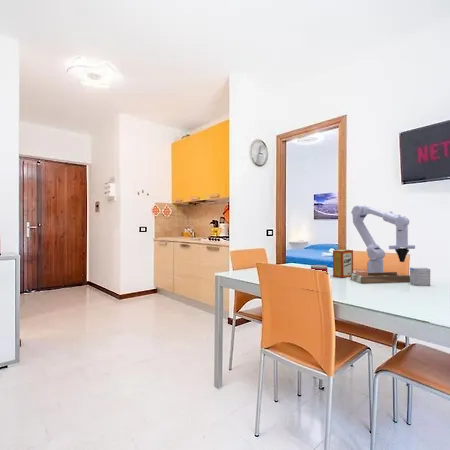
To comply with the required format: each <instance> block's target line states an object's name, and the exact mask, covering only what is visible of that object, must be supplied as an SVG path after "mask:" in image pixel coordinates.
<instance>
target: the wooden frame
mask: <svg viewBox="0 0 450 450" xmlns="http://www.w3.org/2000/svg"><path fill="white" fill-rule="evenodd" d="M350 280H351V281H353V280H354V282H356V283H359V284H364V285H365V284H369V285H370V284H393V283H394V284H395V283H397V284H399V283H410V274H409V275H408V274H406V275H399V274H398V271H387V272H386V271H385V272H384V271H383V272H378V273H368V277H362V276H359V275H356V272H353V273H351V277H350Z"/></svg>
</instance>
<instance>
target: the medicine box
mask: <svg viewBox="0 0 450 450" xmlns="http://www.w3.org/2000/svg"><path fill="white" fill-rule="evenodd" d="M409 275H410V282H409V284H410V285H411V286H413V285H414V286H413V287H417V286H418V287H419V286H420V287H421V286H422V287H424V286H426V287H427V286H429V287H431V269H430V268H429V267H410V268H409Z"/></svg>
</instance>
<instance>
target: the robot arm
mask: <svg viewBox="0 0 450 450" xmlns="http://www.w3.org/2000/svg"><path fill="white" fill-rule="evenodd" d="M350 213H351V215H352V223H353V225H354V226H355V228H356V231H357V233H358V234H359V235H360V236H359V237H360V238H361V239H362V241H363V243H364V244H365V246H366V252H367V256H368V258H369V260H368V261H367V263H366V271H367V272H368V273H378V272H384V257H386V253H385V251H384V249H382V248H381V247H380V246H379V245H378V244H377V243H376V241H375V239H374V238H373V237H372V235H371V233H370V232H369V230H368V228H367V226H366V225H365V223H364V220H365V218H366V217H367V215H374V216H375V217H376V216H377V217H378V218H382V220H383V222H387V223H390V224H392V225H394V226H395V229H396V230H395V245H388V250H394V251H395V253H396V255H397V257H398V259H399V262H401V263H405V260H406V257H407V255H408V254H409V252H410V250H415V249H416V245H413V244H411V245H409V235H408V233H409V232H408V231H409V227H408V226H409V224H410V220H409V218H408V217H407V216H401V214H396V213H394V212H393V211H386V212H385V211H381V210H380V209H379V210H378V209H376V208H374V207H371V206H366V205H357V204H356V205H354V206H353V208H352V210H351V212H350Z"/></svg>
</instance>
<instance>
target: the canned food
mask: <svg viewBox="0 0 450 450" xmlns="http://www.w3.org/2000/svg"><path fill="white" fill-rule="evenodd" d="M311 269H315V270H322V271H326V272H327V273H328V266H327V265H323V264H312V265H310V270H311Z"/></svg>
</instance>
